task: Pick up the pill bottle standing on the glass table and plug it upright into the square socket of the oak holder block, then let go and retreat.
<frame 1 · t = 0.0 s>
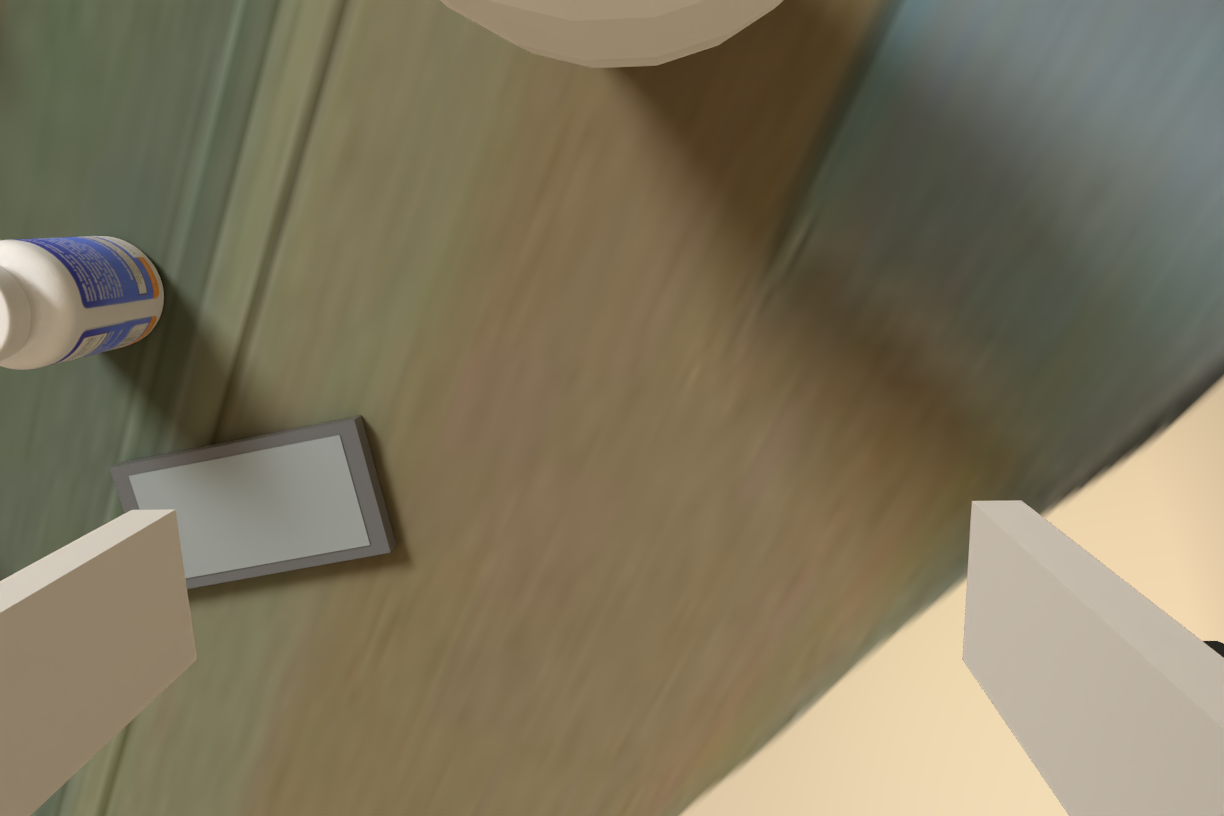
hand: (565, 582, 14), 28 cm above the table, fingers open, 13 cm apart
pill bottle: (117, 291, 43), on the table
phone slab: (259, 503, 44), on the table
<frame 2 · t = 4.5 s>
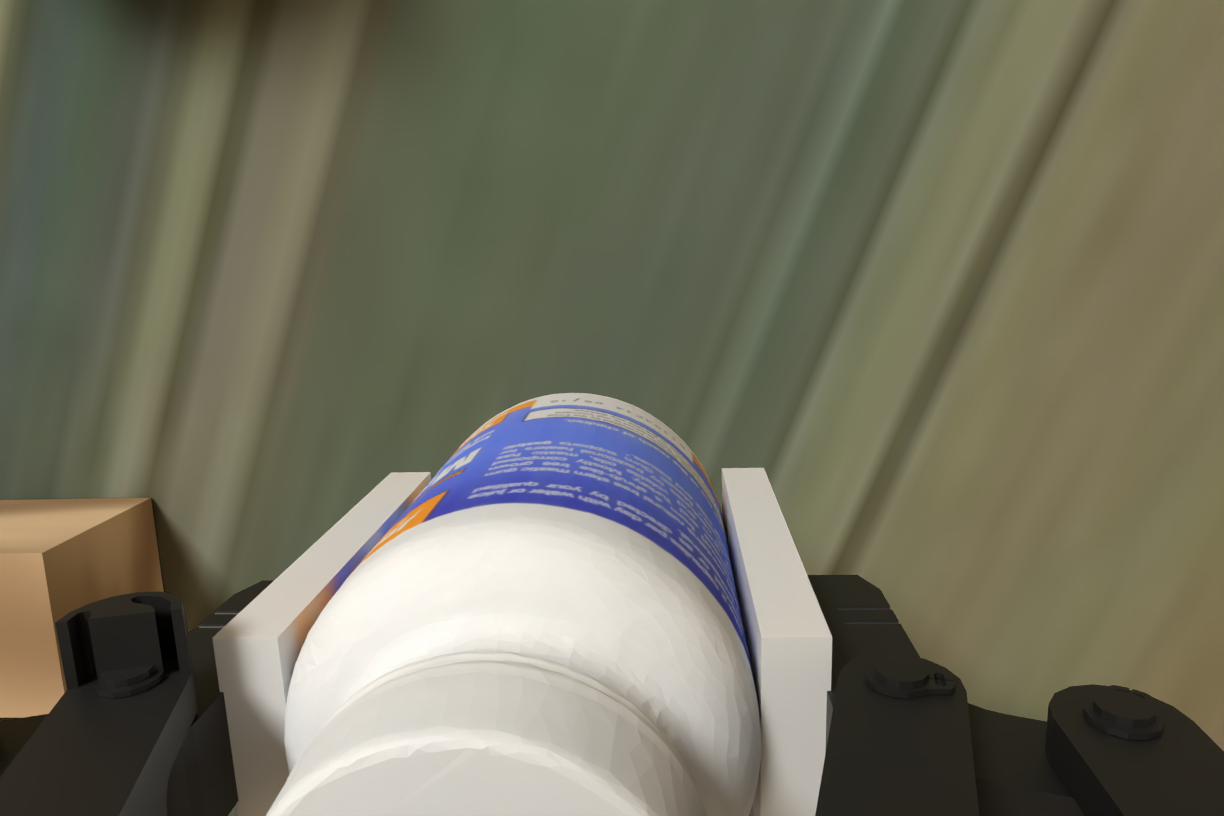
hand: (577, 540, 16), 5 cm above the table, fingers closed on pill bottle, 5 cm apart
pill bottle: (580, 524, 17), point 5 cm above the table, touching gripper
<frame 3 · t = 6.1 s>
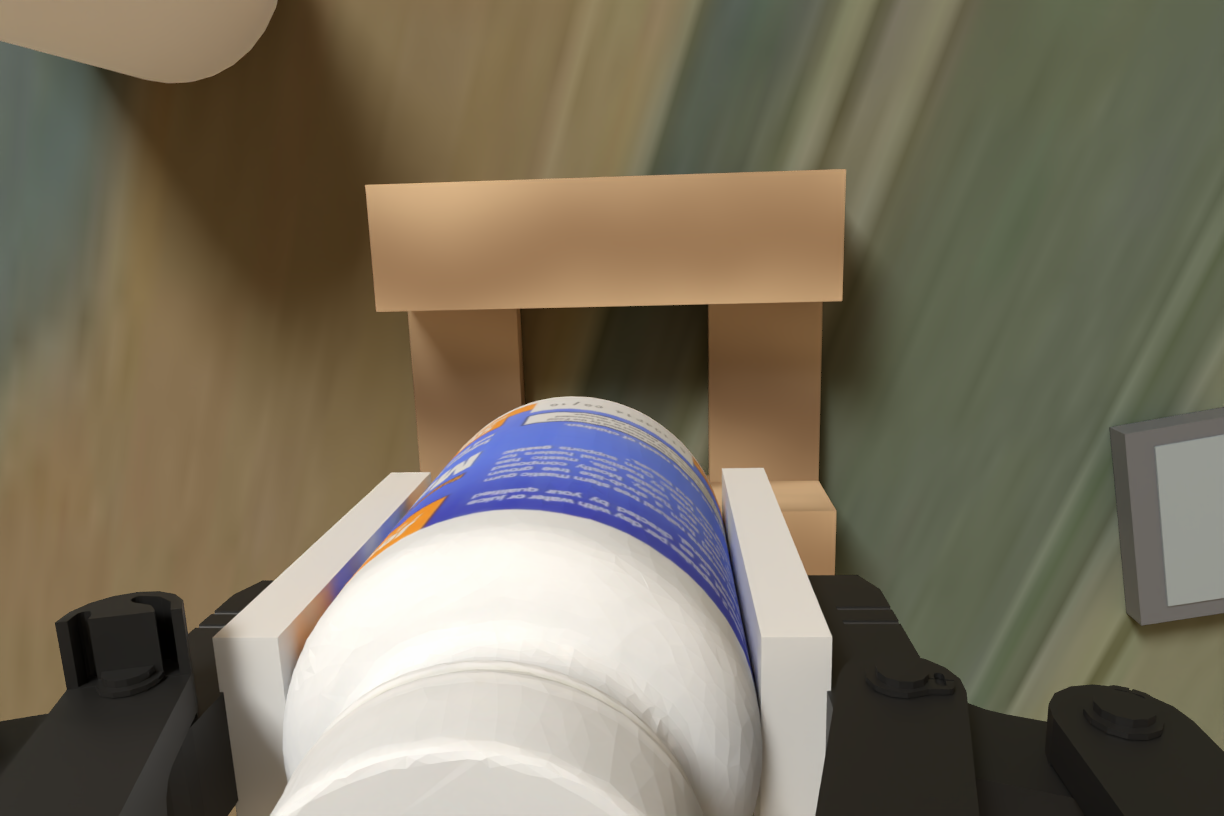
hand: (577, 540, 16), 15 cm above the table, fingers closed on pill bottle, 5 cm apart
pill bottle: (580, 528, 16), point 14 cm above the table, touching gripper
socket holder: (615, 387, 30), on the table
when the fingers open (2 cm above the table, at t = 7.9 s): pill bottle drops 1 cm, resting in socket holder.
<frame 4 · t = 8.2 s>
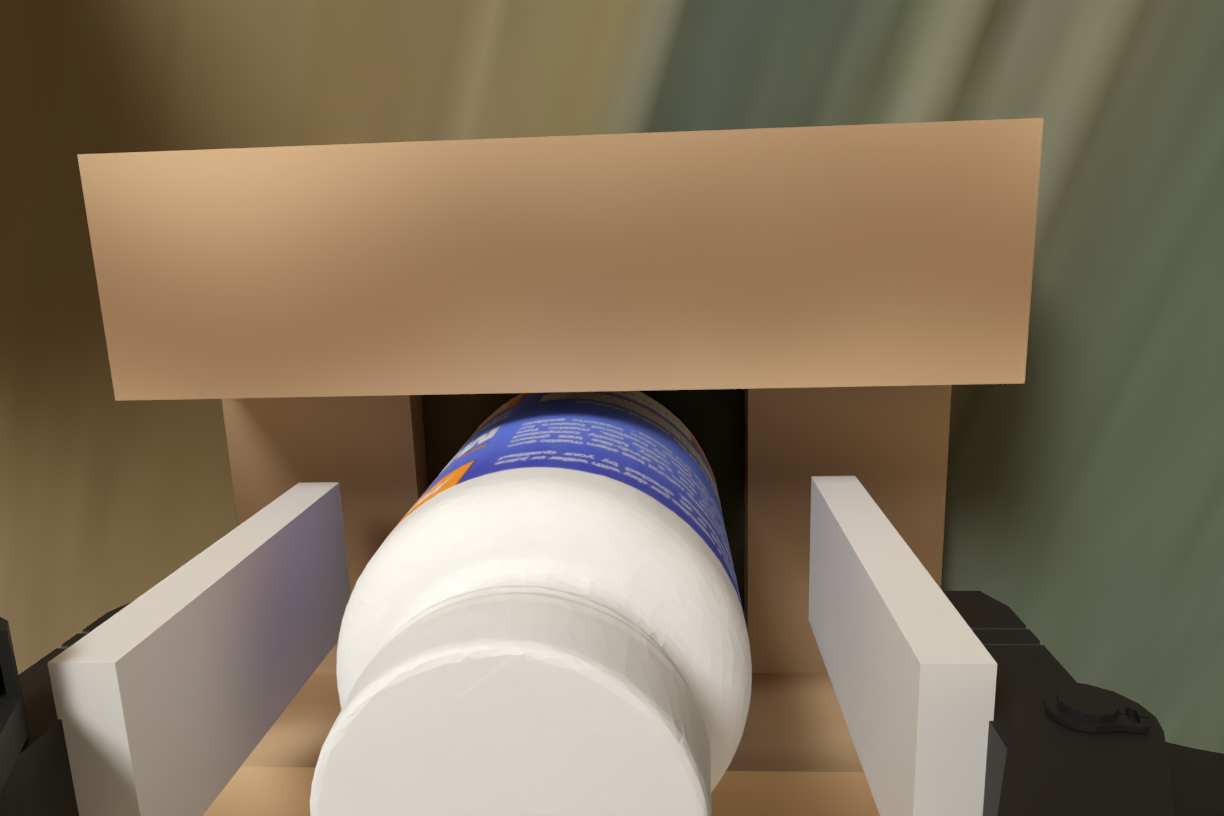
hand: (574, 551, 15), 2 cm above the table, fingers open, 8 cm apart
pill bottle: (587, 501, 18), resting in socket holder
socket holder: (585, 509, 18), on the table
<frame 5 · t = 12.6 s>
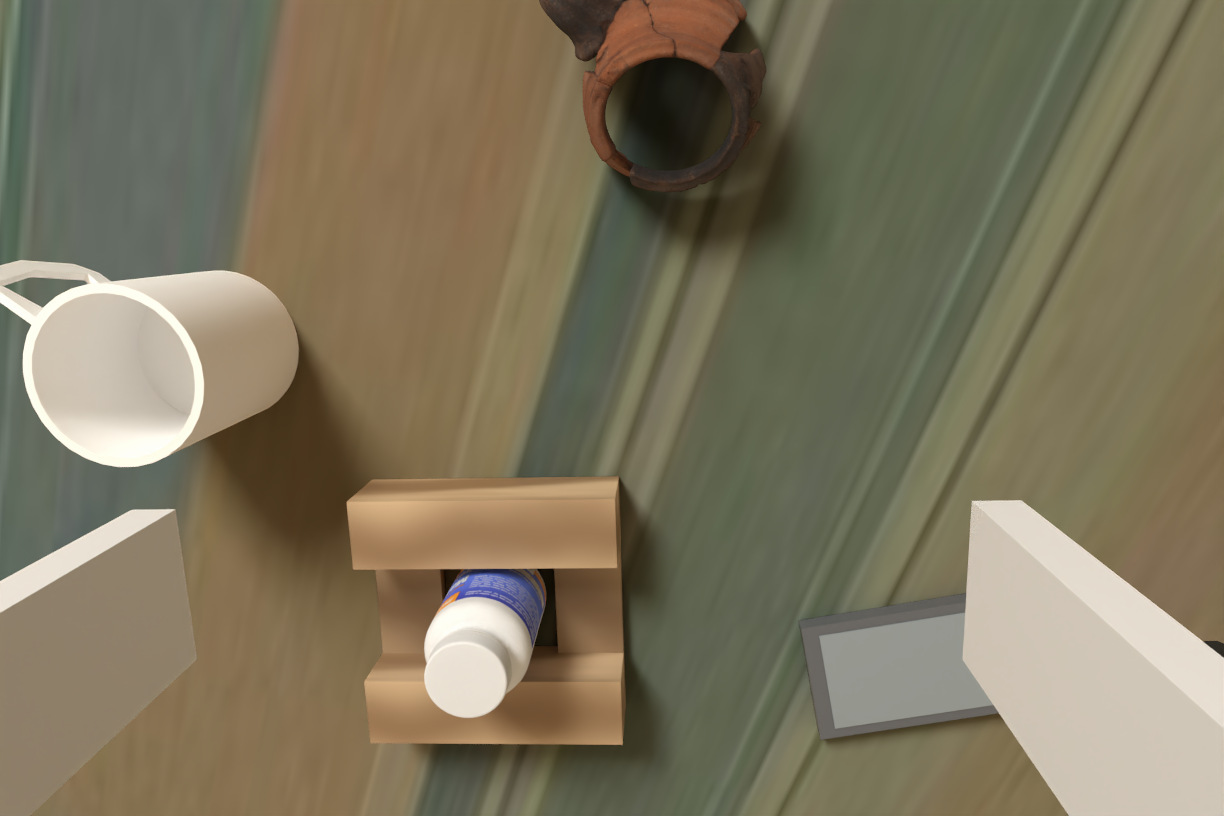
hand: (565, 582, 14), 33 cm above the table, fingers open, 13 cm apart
pottery mug: (652, 71, 44), on the table
pill bottle: (502, 591, 50), resting in socket holder
phone slab: (922, 658, 49), on the table
socket holder: (501, 594, 50), on the table
cup: (199, 324, 48), on the table
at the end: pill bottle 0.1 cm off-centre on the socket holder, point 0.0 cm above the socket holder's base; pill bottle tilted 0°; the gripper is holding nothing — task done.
